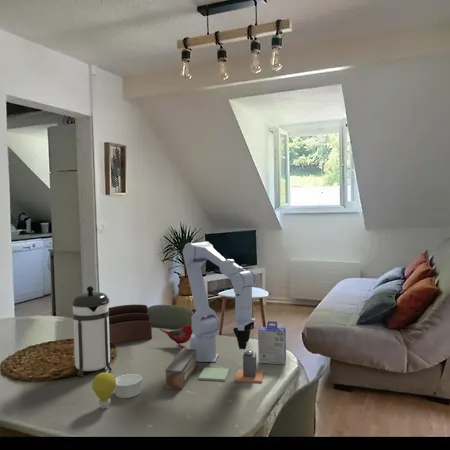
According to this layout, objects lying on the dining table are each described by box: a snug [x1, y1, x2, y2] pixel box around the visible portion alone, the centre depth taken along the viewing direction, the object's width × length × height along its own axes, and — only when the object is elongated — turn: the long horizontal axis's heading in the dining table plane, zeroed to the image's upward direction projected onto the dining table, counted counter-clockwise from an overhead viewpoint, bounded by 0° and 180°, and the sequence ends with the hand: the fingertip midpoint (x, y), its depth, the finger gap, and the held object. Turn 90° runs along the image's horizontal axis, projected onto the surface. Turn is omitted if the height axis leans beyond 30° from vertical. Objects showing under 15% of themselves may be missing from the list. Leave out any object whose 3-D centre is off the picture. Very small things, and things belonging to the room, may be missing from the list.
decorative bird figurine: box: [159, 324, 193, 349], centre depth 176 cm, size 3×18×10 cm, turn 61°
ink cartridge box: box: [257, 320, 287, 365], centre depth 158 cm, size 10×6×14 cm, turn 78°
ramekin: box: [114, 373, 143, 399], centre depth 134 cm, size 9×9×4 cm
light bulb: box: [91, 371, 116, 409], centre depth 124 cm, size 7×7×10 cm
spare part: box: [242, 349, 258, 378], centre depth 144 cm, size 4×4×8 cm
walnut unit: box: [164, 348, 197, 391], centre depth 145 cm, size 6×20×6 cm, turn 170°
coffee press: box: [71, 285, 112, 378], centre depth 153 cm, size 17×16×30 cm
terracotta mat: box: [233, 368, 265, 384], centre depth 144 cm, size 9×9×1 cm
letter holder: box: [108, 304, 153, 344], centre depth 188 cm, size 10×20×14 cm, turn 110°
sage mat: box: [197, 367, 230, 382], centre depth 146 cm, size 9×9×1 cm
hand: (243, 345), depth 147 cm, fingers open, 7 cm apart
